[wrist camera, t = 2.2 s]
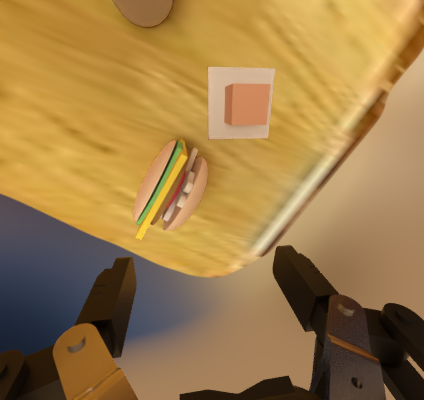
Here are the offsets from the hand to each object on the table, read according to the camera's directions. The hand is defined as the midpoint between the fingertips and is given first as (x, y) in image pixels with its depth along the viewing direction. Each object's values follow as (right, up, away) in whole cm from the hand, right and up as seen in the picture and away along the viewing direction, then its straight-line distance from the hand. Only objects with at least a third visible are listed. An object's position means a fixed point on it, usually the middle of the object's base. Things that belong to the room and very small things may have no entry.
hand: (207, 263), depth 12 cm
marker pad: (+5, +18, +21) cm, 28 cm away
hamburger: (-6, +8, +24) cm, 26 cm away
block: (+5, +18, +21) cm, 28 cm away
